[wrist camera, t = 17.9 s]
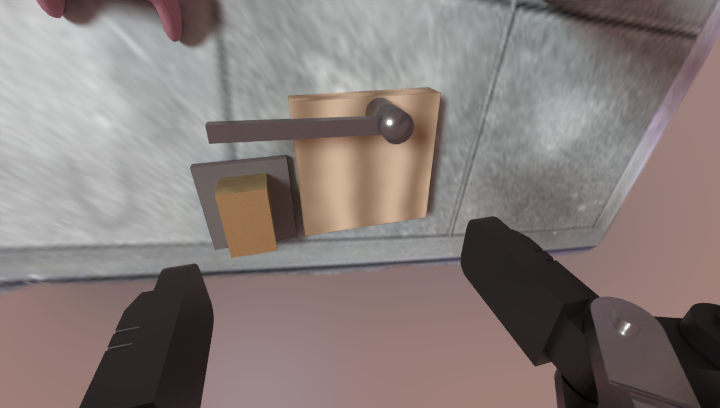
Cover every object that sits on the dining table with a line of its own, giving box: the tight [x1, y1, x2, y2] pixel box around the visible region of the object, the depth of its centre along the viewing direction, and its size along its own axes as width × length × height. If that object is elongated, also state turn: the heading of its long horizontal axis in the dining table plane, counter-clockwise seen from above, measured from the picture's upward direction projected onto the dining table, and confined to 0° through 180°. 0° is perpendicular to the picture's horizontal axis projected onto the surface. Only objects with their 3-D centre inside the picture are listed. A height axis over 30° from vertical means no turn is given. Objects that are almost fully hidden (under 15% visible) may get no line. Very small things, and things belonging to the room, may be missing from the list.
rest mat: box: [190, 155, 297, 250], centre depth 38 cm, size 10×11×1 cm
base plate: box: [288, 88, 441, 236], centre depth 38 cm, size 16×16×3 cm
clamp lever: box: [205, 97, 414, 144], centre depth 29 cm, size 18×3×6 cm, turn 88°
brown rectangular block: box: [215, 173, 277, 258], centre depth 36 cm, size 5×8×4 cm, turn 0°
